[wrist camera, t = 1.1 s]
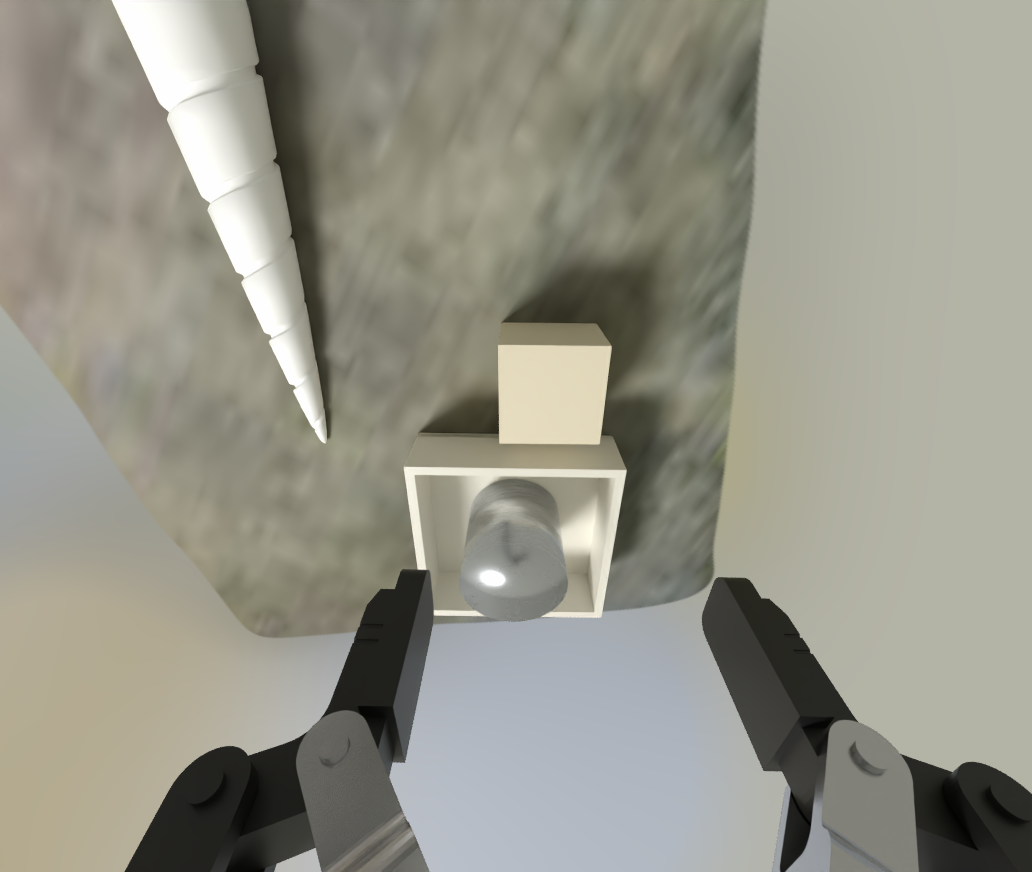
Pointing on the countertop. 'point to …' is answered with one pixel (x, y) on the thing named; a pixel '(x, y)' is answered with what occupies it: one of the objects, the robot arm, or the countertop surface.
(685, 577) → the countertop surface
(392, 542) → the countertop surface
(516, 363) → the carton
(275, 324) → the unicorn horn
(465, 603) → the box
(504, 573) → the tin can
